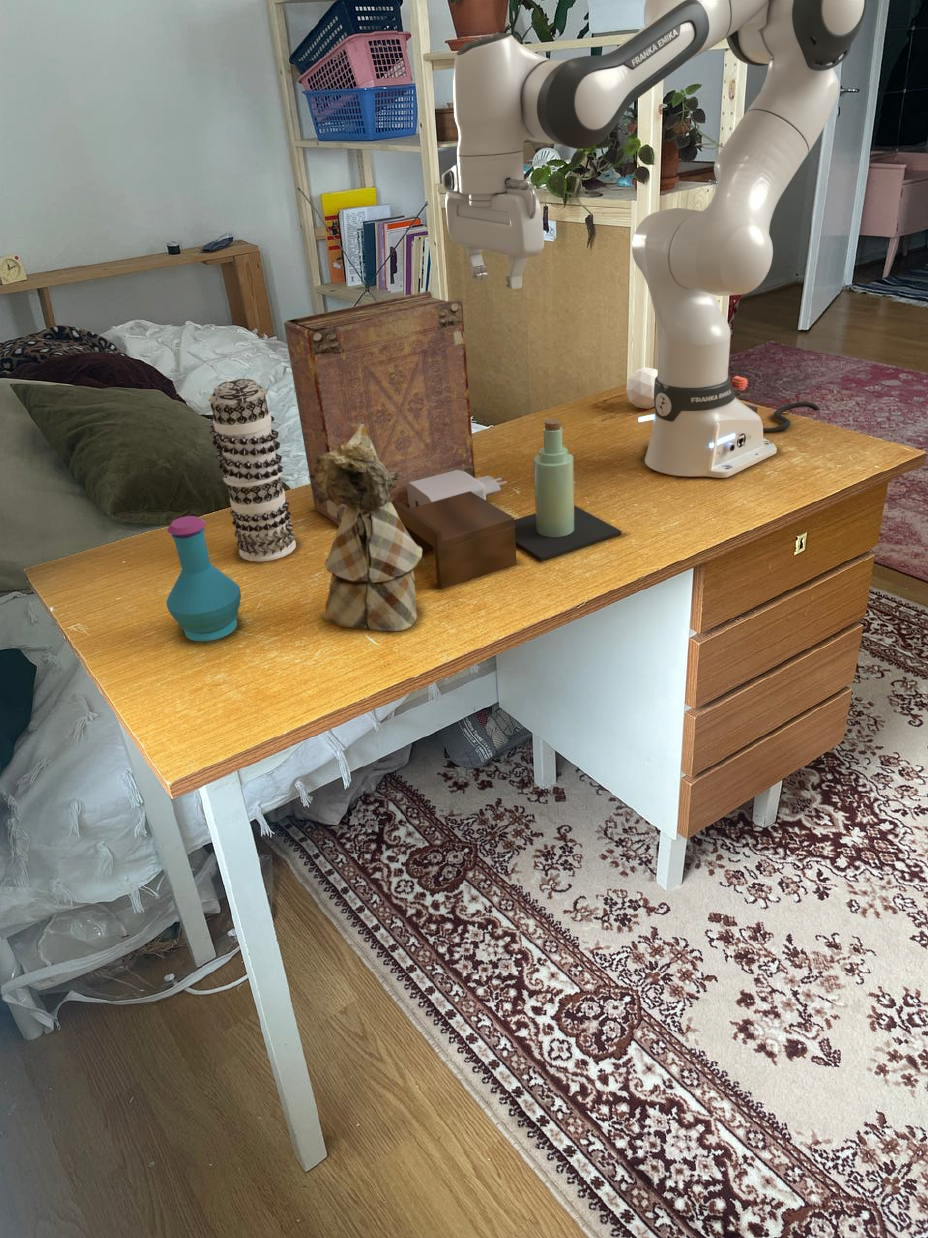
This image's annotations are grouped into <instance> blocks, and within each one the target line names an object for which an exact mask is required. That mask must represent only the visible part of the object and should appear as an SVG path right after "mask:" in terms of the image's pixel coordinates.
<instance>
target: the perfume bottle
mask: <svg viewBox="0 0 928 1238" xmlns="http://www.w3.org/2000/svg"><path fill="white" fill-rule="evenodd" d="M206 525H207V522H206V521H205V520H204V519H202V518H201V517H199V516H195V515H187V516H182V517H178V518H175V519H174V520H173V521H172V522H171V523H170V524H169V526H168V527H167V529H166V532H167V533H168V534H170V535H171V538H172V539H173V540H174V543H175V548H176V553H177V556H178V560H179V564H180V567H181V568H180V569H181V570H180V572H179V574H178V576H177V579H176V581H175V583H174V584H173V587H172V588H171V590H170V592H169V594H168V595H167V599H166V603H165V605H166V607H167V610H168V612H169V614H170V615H171V617H172V619H174V621H175V622H176V623H177V624H178V626H179V628H181V629H182V630H183V631H184V634H185V636H186V638H188V639H189V640H190V641H194V642H212V641H215V640H219V639H222V638H224V637H226V636H228V635H230V634H231V633H233V632H234V631H235V630H236V628H237V626H238V622H237V618H238V615H239V608H240V605H241V600H242V599H241V597H242V595H241V588H240V585H239V584H238V583H237V582H235V580H233V579H232V578H230V577H229V576H228V575H226V574H225V573H224V572H222V571H221V570H219V569H218V568H217V567H216V566H214V565H213V564H212V563H211V559H210V556H209V550H208V546H207V542H206V537H205V532H206V531H205V527H206Z"/></svg>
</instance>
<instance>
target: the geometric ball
mask: <svg viewBox="0 0 928 1238" xmlns="http://www.w3.org/2000/svg"><path fill="white" fill-rule="evenodd" d="M657 373H658V369H656V368H652V367H646V366H643V367H641V368H639V369H636V370H634V371H633V372H632V373H631V375H630V376H629V377H628V379H627V381H626V388H625V391H626V395H627V398H628V399H627V400H628V401H629V402H630V403H631V404H632V405H634V406H635V407H636V408H639V409H645V410H650V409H651V408H655V405H654V383H655V378H656V377H657Z"/></svg>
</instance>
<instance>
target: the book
mask: <svg viewBox="0 0 928 1238" xmlns="http://www.w3.org/2000/svg"><path fill="white" fill-rule="evenodd" d="M432 294H433V293H432V292H431V291H429V290H427V291H422V292H418V293H417V292H416V293H412V294H409V295H408V294H407V295H403V296H397V297H393V298H389V299H384V300H379V301H374V302H369V303H365V304H360V305H355V306H350V307H345V308H341V309H337V310H336V309H335V310H331V311H326V312H321V313H317V314H312V315H307V316H303V317H299V318H293V319H288V320H285V321H284V322H283V326H284V327H283V328H284V332H285V338H286V344H287V351H288V355H289V362H290V367H291V374H292V381H293V386H294V392H295V398H296V403H297V410H298V416H299V421H300V428H301V433H302V441H303V446H304V451H305V458H306V463H307V470H308V477H309V476H310V475H313V472H314V469H315V467H318V465H317V464H316V458H317V456H323V455H324V453H329V452H333V451H335V450H336V449H337V444H340V445H346V444H347V443H348V442H349V440H350V439H351V438H352V437H353V436H354V434H355V433H356V431H357V429H358V425H362V424H364V425H365V427H366V429H367V432H368V434H369V437H370V439H371V442H372V444H373V446H374V448H375V451H376V454H377V457H378V458H379V461H380V462H381V463H383V464H384V466H385V468H386V469H387V470H388V472H393V473H398V474H399V476H398V477H397V479H398V480H394V483H395V485H396V486H397V487H396V488H394V489H392V491H391V492H390V494H391V495H393V499H392V502H391V503H392V504H393V506H394V508H395V510H396V504H395V503H398V502H401V503H403V504H404V505H406V506H407V507H410V506H409V503H408V494H407V483H409V482H413V481H416V480H420V479H424V478H428V477H432V476H435V475H439V474H443V473H447V472H451V471H455V470H460V471H464V472H466V473H468V474H469V475H471V476H472V477H474V478H475V479H476V468H475V467H476V466H475V455H474V441H473V429H472V417H471V416H472V415H471V402H470V401H471V400H470V390H469V376H468V375H469V374H468V362H467V350H466V337H465V322H464V310H463V301H462V299H458V298H455V299H449V300H443V299H439V298H437V297H433V295H432ZM309 482H310V488H311V489H312V484H314V478H311V477H309ZM317 482H318V481H317ZM311 494H312V500H313V506H314V509H315V510H316V511H317V512H319V513H320V514H321V515H323V516H324V517H326V518H328V519H329V520H330V521H331V522H333V523H334V524H336V525H337V526H340V523H341V521H342V518H343V515H344V512H345V509H346V505H344V504H341V505H339V506H336V505H335V504H334V502H332V501H331V500H328V501H326V502H324V503H323V504H319V502H318V499H317V498H314V496H313V491H312V490H311ZM338 504H340V503H338Z"/></svg>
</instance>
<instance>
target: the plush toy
mask: <svg viewBox="0 0 928 1238" xmlns="http://www.w3.org/2000/svg"><path fill="white" fill-rule="evenodd" d="M316 464H317V465H318V467H315V469H314V472H313V475H310V476H309V475H308V477H309V478H310V477H311V478H314V484H312V488H311V492H312V491H313V494H312V497H313V496H314V498H317V499H318V502H319V504H323V503H324V502H326V501H328V500H331V501H332V502H334V504H335V505H336V506H339V505H341V504H344V505H346V509H345V512H344V515H343V518H342V521H341V523H340V526H339V525H338V526H339V527H338V528H337V531H336V534H335V536H334V539H333V541H332V545H331V547H330V548H331V549H330V551H329V555H328V557H326V560H325V562H324V565H325V567H326V568H325V569H326V570H327V572H329V573H331V576H330V583H329V589H328V594H327V599H326V602H325V611H324V612H323V614H322V621H325V622H329V623H331V624H333V625H335V626H341V627H345V628H351V629H352V628H353V629H364V630H369V631H373V630H374V631H382V632H400V631H401V632H402V631H404V630H407V629H410V628H411V627H412V626H414V625H415V623H416V620H417V618H418V615H419V614H418V611H417V598H416V596H417V595H416V594H417V593H416V592H417V591H416V587H415V584H416V581H415V579H416V578H415V570H414V569H415V567H416V566H417V565H418V564H419V562H420V561H421V560H422V558H423V554H422V551H423V549H422V548H421V547H420V546H419V545H417V544H416V543H415V542H414V540H413V539H412V537H411V536H410V534H409V533H408V532H407V530H406V528H405V526H404V525H403V524H402V522H401V520H400V518H399V516H398V514H397V512H396V510H395V508H394V506H393V504H392V503H391V502H392V499H393V495H391V494H390V492H391V491H392V489H394V488H396V487H397V486H396V485H395V483H394V480H398V479H397V477H398V476H399V474H398V473H393V472H388V470H387V469H386V468H385V466H384V464H383V463H381V462H380V461H379V458H378V457H377V454H376V451H375V448H374V446H373V444H372V442H371V439H370V437H369V434H368V432H367V429H366V427H365V425H364V424H362V425H358V429H357V431H356V433H355V434H354V436H353V437H352V438H351V439H350V440H349V442H348V443H347V444H346V445H340V444H337V449H336V450H335V451H333V452H329V453H324V455H323V456H317V458H316ZM317 481H318V482H317ZM338 503H340V504H338Z"/></svg>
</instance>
